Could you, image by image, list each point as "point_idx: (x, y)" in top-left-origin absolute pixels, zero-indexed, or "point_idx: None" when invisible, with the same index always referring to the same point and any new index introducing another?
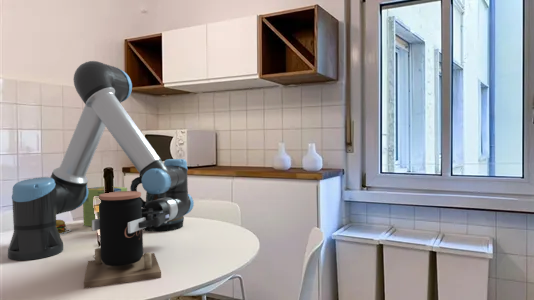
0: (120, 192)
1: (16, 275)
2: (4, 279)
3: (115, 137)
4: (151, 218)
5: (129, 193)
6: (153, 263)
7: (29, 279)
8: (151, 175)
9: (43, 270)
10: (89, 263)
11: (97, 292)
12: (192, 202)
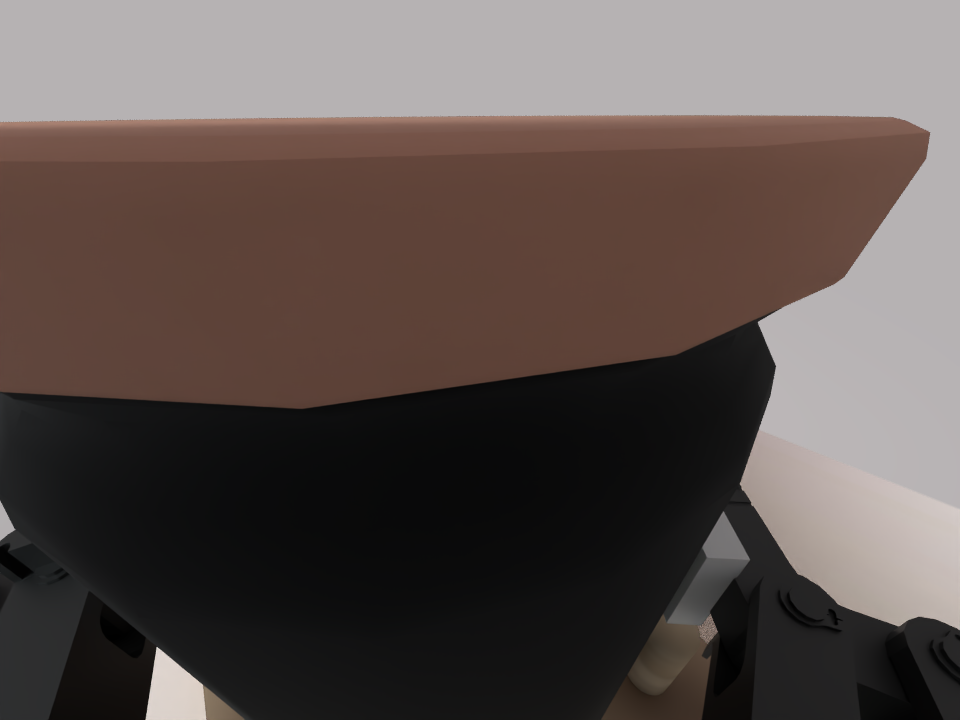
0: (531, 119)
1: (869, 498)
2: (837, 461)
3: None
4: (16, 611)
5: (217, 120)
6: None
7: (760, 478)
8: None
9: (876, 577)
10: (701, 652)
11: None
12: None
